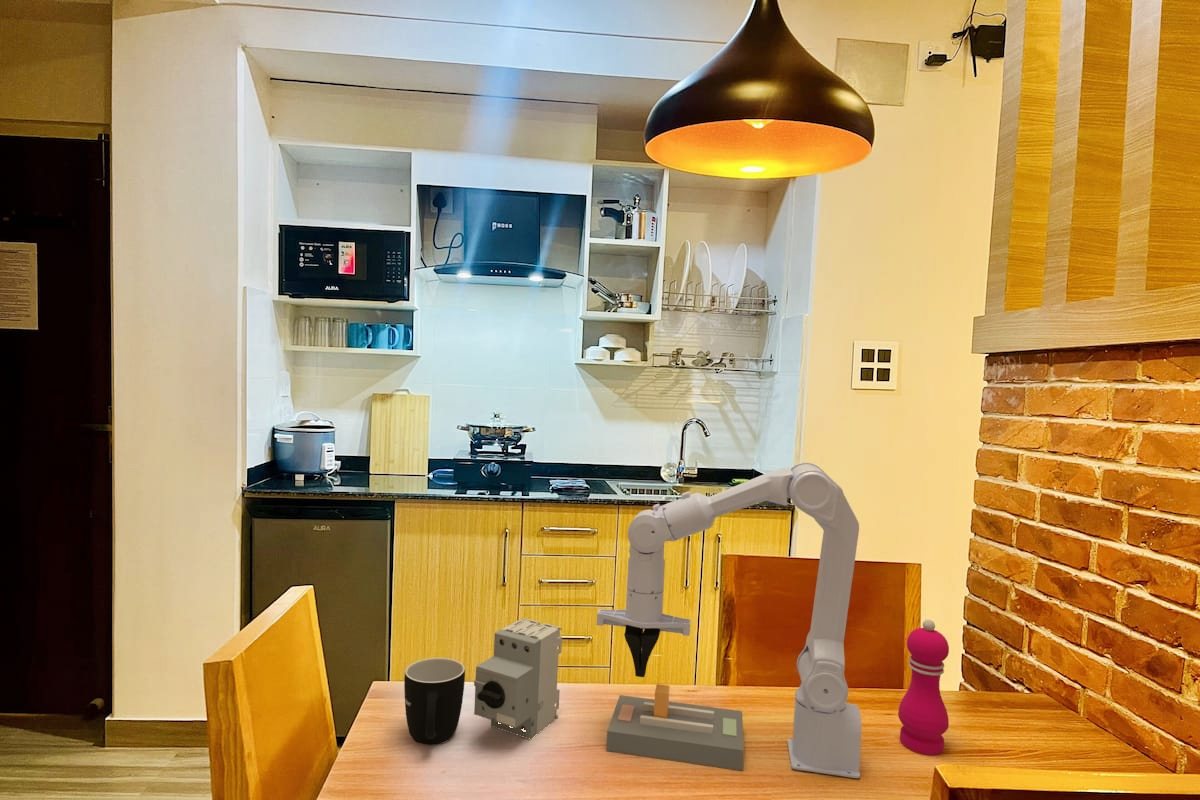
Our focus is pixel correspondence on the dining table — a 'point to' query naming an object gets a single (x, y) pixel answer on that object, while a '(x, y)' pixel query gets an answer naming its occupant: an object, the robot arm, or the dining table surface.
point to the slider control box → (677, 733)
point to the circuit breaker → (520, 678)
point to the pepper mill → (924, 692)
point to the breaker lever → (661, 701)
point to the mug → (433, 699)
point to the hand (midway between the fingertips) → (640, 674)
